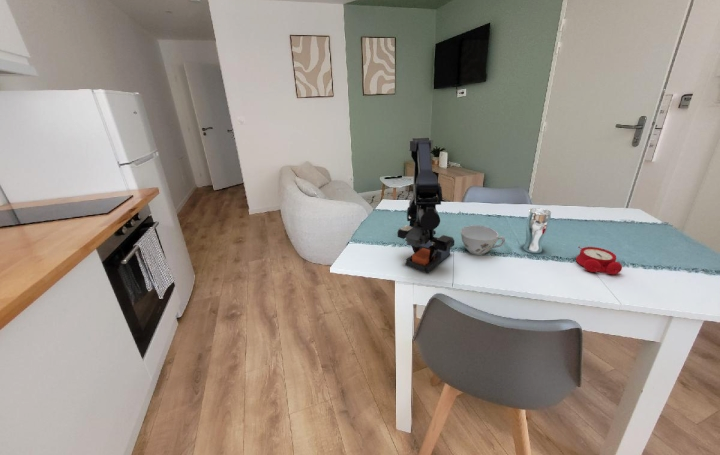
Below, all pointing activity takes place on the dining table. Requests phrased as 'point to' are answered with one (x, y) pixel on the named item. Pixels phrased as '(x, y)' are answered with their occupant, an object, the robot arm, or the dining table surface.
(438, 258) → the dark grey tray
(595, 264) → the alarm clock
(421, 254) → the orange block
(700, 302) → the dining table surface
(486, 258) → the dining table surface
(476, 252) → the teacup
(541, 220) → the beer glass
